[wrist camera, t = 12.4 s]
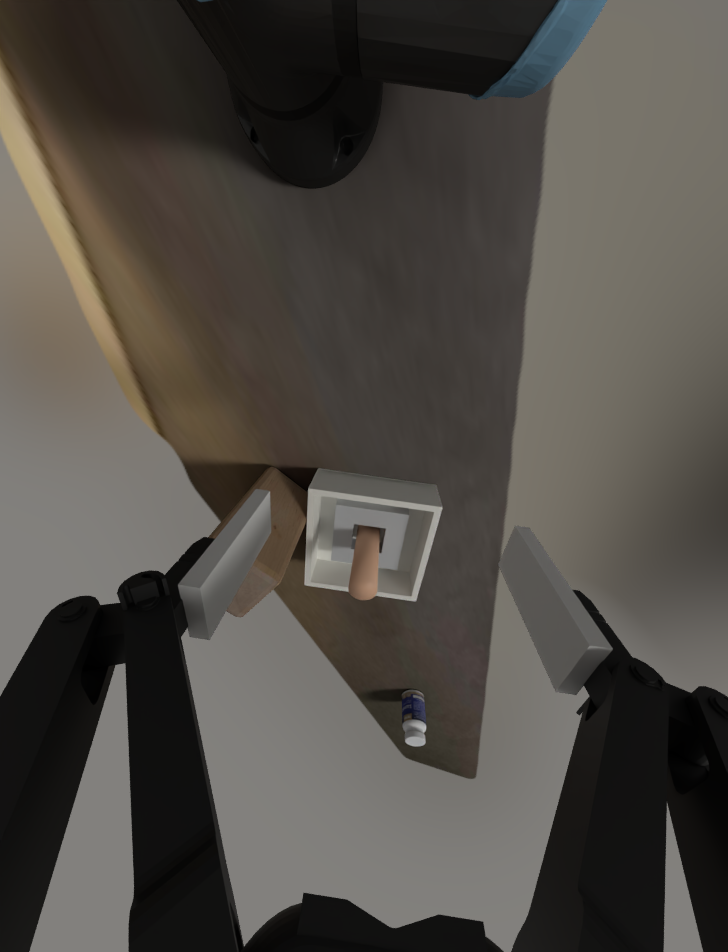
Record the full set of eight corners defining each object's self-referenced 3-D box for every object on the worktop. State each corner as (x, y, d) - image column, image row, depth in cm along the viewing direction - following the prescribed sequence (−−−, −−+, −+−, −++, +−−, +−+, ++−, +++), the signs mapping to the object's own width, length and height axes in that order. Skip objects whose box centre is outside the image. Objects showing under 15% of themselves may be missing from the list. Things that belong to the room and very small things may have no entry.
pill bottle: (406, 686, 77) (408, 733, 68) (427, 692, 77) (432, 739, 68) (398, 697, 79) (399, 744, 71) (418, 703, 80) (422, 750, 71)
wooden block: (318, 497, 53) (282, 584, 35) (286, 530, 57) (239, 623, 39) (272, 462, 51) (208, 536, 33) (242, 498, 55) (170, 582, 37)
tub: (318, 468, 51) (308, 488, 44) (436, 484, 50) (442, 507, 44) (313, 557, 60) (304, 585, 53) (413, 572, 59) (415, 601, 53)
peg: (359, 517, 53) (349, 577, 41) (381, 520, 53) (379, 581, 40) (356, 535, 55) (347, 597, 42) (378, 538, 55) (375, 601, 42)
